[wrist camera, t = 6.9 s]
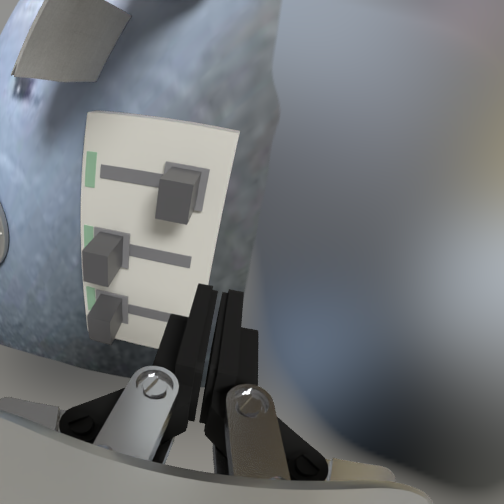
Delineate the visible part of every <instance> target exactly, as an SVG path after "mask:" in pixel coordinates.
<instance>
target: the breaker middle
mask: <svg viewBox="0 0 504 504" xmlns="http://www.w3.org/2000/svg"><path fill="white" fill-rule="evenodd" d="M129 251H130V233H125V232H120V231H115V230H110V229H105V228H100V227H94V238H93V239H92V240H91V241H90V242H89V244H88V245H87V246H86V247H85V248H84V249H83V250H82V264H83V281H85V282H89V283H93V284H97V285H101V286H105V287H109V285H110V284H111V282H112V280H113V279H114V277H115V276H116V274H117V273H118V271H119V269H120V268H121V267H122V268H126V269H128V268H129Z"/></svg>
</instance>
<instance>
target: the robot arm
mask: <svg viewBox="0 0 504 504" xmlns="http://www.w3.org/2000/svg"><path fill="white" fill-rule="evenodd" d="M8 243H9V233H8V226H7V221H6V217H5V214H4V211H3V208H2V206H1V203H0V263H1V262H2V261H3V259H4V258H5V256H6V253H7V250H8ZM212 289H213V286H210V285H205V284H200V283H198V286H197V290H196V293H195V297H194V300H193V303H192V307H191V310H190V314H189V317H186V316H181V315H177V314H172V313H171V315H170V317H169V320H168V322H167V325H166V328H165V331H164V334H163V337H162V340H161V343H160V345H159V348H158V351H157V354H156V357H155V360H154V363H153V366H147V367H143V368H141V369H139V370H138V371H136V372H135V373H134V375H133V376H132V378H131V379H130V381H129V383H128V384H127V386H126V388H123V389H121V390H118V391H116V392H113V393H110V394H108V395H105V396H102V397H100V398H97V399H94V400H92V401H89V402H86V403H83V404H81V405H78V406H75V407H72V408H71V409H69V410H67V411H65V410H60V409H59V407H57V406H51V405H45V404H40V403H35V402H30V401H25V400H21V399H16V398H12V397H4V398H1V399H0V504H434V503H433V502H432V500H431V498H430V497H429V496H428V495H427V494H426V493H424V492H423V491H421V490H419V489H417V488H414V487H412V486H408V485H405V484H401V483H396V478H395V476H394V474H393V473H392V472H391V471H390V470H389V469H387V468H385V467H382V466H376V465H369V464H363V463H358V462H352V461H346V460H342V459H337V458H333V459H332V460H329V459H325V458H324V457H323V456H322V455H321V454H320V453H319V452H318V451H317V450H315V449H314V448H313V447H312V446H310V445H309V444H308V443H307V442H306V441H304V440H303V439H302V438H301V437H300V436H299V435H297V434H296V433H295V432H294V431H293V430H292V429H290V428H289V427H288V426H287V425H286V424H285V423H284V422H282V421H281V420H280V419H279V418H278V417H277V415H276V411H275V405H274V402H273V399H272V397H271V395H270V394H269V393H268V392H267V391H266V390H264V389H263V388H261V387H259V386H258V331H257V330H253V329H247V328H242V327H241V321H242V308H243V295H244V292H240V291H235V290H230V289H229V291H228V293H225V292H222V297H221V302H220V307H219V312H218V317H217V322H216V327H215V332H214V337H213V342H212V348H211V353H210V359H209V365H208V371H207V377H206V383H205V390H204V396H203V403H202V408H201V415H200V421H199V422H200V423H205V429H204V431H205V435H206V436H207V437H208V439H209V440H210V441H211V442H212V443H213V461H214V473H206V472H201V471H195V470H190V469H184V468H179V467H174V466H169V465H165V462H166V460H167V457H168V455H169V452H170V450H171V447H172V445H173V442H174V439H175V436H177V435H179V434H181V433H183V432H185V431H186V428H187V424H188V420H189V421H194V420H195V414H196V408H197V402H198V397H199V391H200V385H201V380H202V374H203V368H204V363H205V357H206V352H207V346H208V341H209V335H210V330H211V325H212V319H213V314H214V309H215V304H216V298H217V293H218V291H215V290H212Z"/></svg>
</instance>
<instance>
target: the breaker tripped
mask: <svg viewBox="0 0 504 504" xmlns="http://www.w3.org/2000/svg"><path fill="white" fill-rule="evenodd" d="M209 172H210V169H207V168H202V167H196V166H191V165H185V164H180V163H174V162H168V161H166V162H165V169H164V175H163V176H162V177H161V178H160V181H159V189H158V197H157V205H156V213H155V219H159V220H165V221H170V222H175V223H180V224H185V225H187V224H188V222H189V220H190V217H191V215H192V213H193V211H194V210H196V211H201V212H202V209H203V204H204V198H205V193H206V188H207V182H208V177H209Z"/></svg>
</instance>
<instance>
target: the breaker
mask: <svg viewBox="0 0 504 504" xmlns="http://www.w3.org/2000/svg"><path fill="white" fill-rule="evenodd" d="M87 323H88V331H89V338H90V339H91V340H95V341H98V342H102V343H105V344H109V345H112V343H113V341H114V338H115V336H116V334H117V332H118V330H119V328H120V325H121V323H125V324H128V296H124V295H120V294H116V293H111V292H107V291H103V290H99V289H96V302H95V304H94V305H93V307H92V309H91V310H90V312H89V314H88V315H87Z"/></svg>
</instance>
